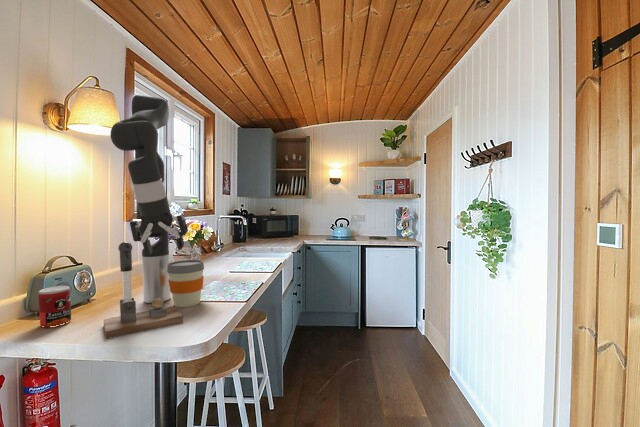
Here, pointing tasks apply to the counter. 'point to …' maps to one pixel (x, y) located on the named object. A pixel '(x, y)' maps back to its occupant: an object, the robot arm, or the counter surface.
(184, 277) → the reusable coffee cup
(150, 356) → the counter surface
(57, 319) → the canned food
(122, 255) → the lever
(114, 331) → the nutcracker bench
